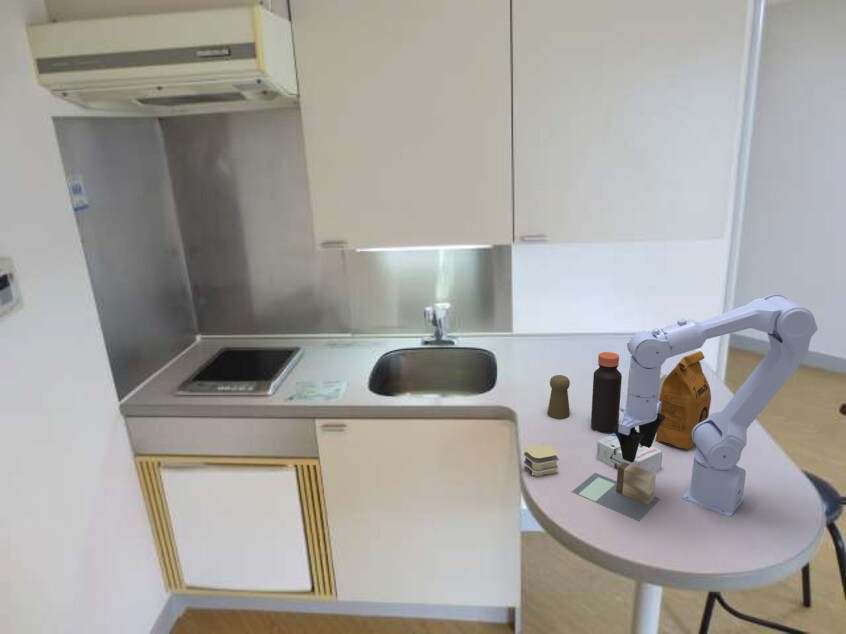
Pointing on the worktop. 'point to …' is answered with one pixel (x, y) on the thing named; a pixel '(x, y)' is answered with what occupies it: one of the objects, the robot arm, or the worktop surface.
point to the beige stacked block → (541, 459)
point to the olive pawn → (559, 397)
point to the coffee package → (684, 402)
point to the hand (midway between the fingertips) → (637, 452)
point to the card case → (636, 483)
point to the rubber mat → (612, 497)
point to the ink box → (613, 456)
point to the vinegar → (606, 393)
